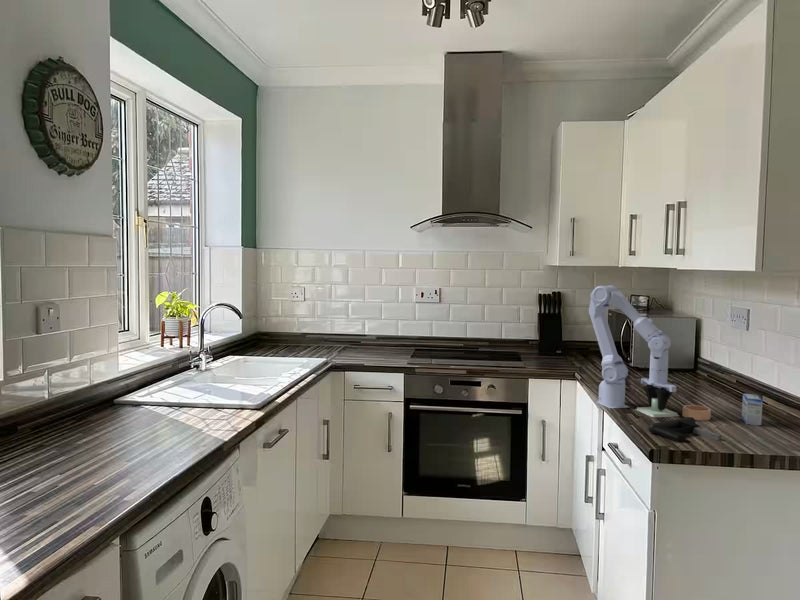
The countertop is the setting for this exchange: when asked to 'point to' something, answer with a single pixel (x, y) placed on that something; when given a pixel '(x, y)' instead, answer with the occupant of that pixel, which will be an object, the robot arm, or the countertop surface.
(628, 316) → the robot arm
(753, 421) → the medicine box
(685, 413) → the bowl
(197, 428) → the countertop surface
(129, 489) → the countertop surface
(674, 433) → the black dustpan
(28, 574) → the countertop surface
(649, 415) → the mat
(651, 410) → the lid
